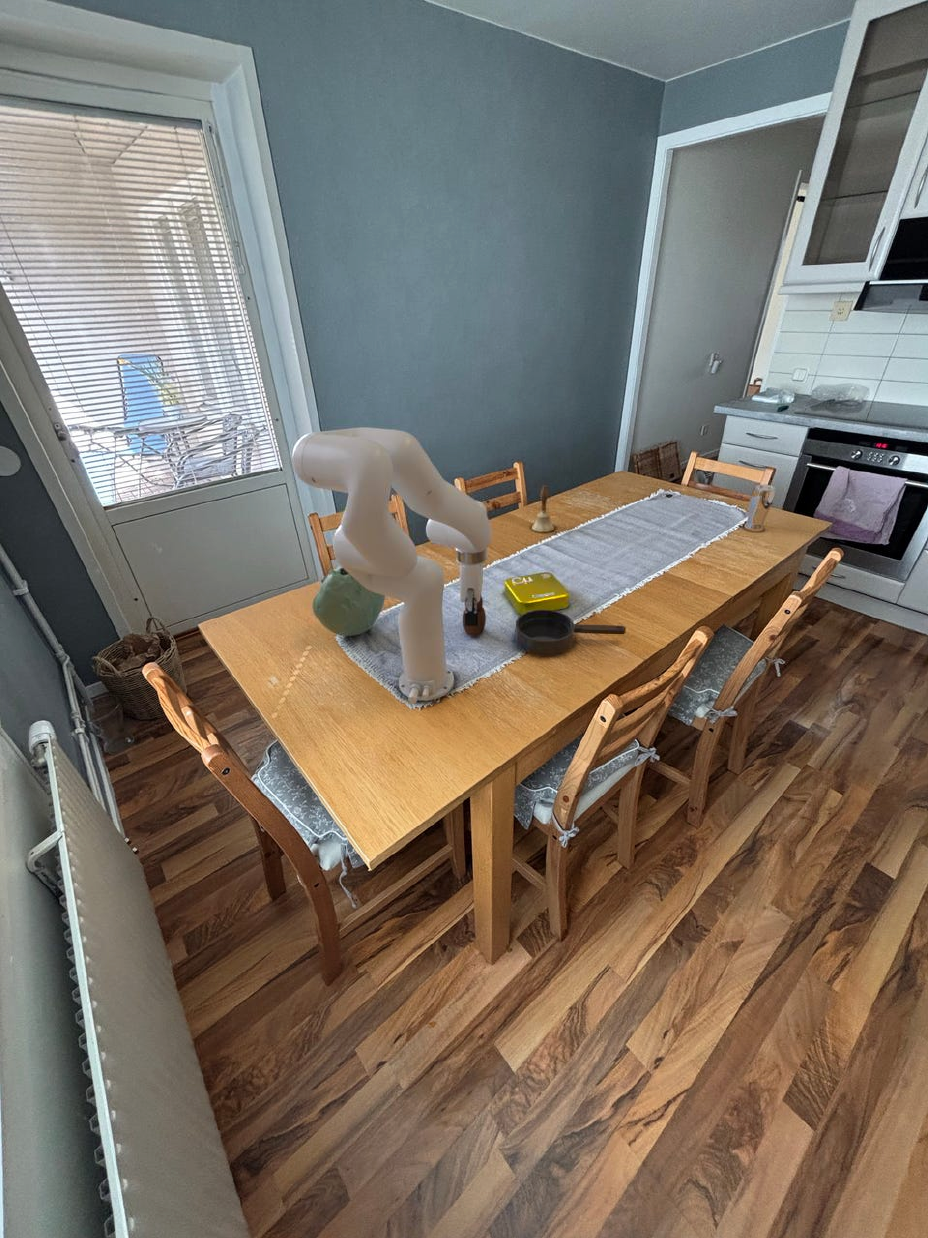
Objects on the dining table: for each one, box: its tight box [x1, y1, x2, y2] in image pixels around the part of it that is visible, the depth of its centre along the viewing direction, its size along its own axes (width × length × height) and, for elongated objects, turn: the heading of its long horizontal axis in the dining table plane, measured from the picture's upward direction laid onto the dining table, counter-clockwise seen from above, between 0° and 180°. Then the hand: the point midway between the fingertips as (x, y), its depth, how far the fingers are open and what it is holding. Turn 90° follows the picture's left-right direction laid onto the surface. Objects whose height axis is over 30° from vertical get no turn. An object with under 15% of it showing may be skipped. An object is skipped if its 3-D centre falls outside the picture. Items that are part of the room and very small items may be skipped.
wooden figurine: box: [462, 590, 487, 638], centre depth 128 cm, size 7×6×15 cm
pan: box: [514, 609, 575, 657], centre depth 127 cm, size 15×15×4 cm
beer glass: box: [743, 484, 777, 532], centre depth 177 cm, size 7×7×15 cm
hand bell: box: [531, 485, 555, 533], centre depth 185 cm, size 8×8×16 cm
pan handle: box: [574, 623, 627, 635], centre depth 125 cm, size 2×13×1 cm, turn 83°
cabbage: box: [312, 565, 386, 637], centre depth 129 cm, size 16×19×20 cm
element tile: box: [504, 571, 570, 616], centre depth 144 cm, size 15×15×5 cm
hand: (473, 614), depth 129 cm, fingers open, 9 cm apart
